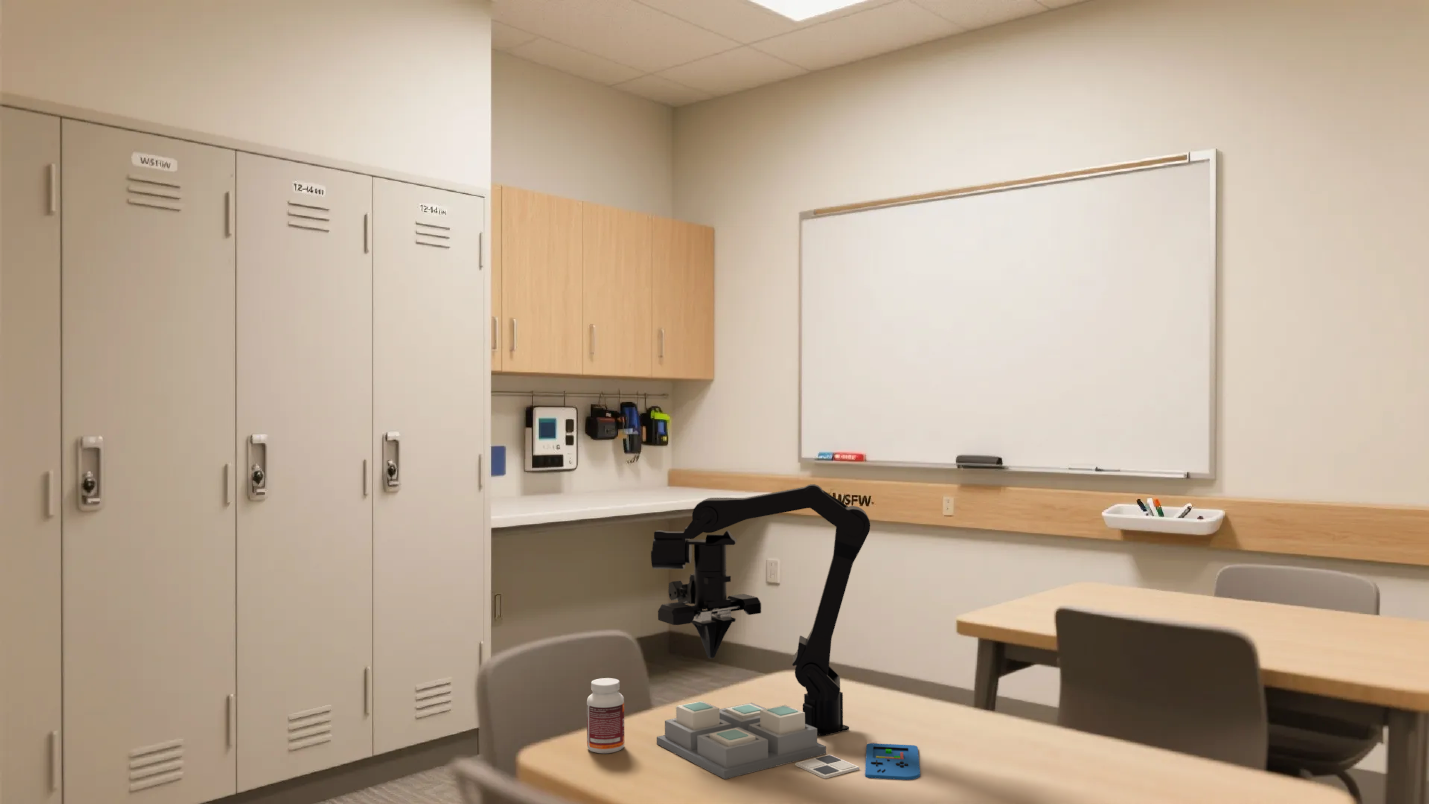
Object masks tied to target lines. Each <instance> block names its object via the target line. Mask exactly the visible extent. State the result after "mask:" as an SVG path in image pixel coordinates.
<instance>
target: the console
mask: <svg viewBox="0 0 1429 804" xmlns="http://www.w3.org/2000/svg"><path fill="white" fill-rule="evenodd" d="M745 704H746V703H744V704H738V705H735V706H730V707H729V706H728V707H724V708H720V724H719V725H714V726H710V727H705V728H700V729H696V730H691V729H689V728H686V727H684V726H682V725H680V724H678V723H676V717H673V718H670V719H664V735H659V736H656V745H658V746H660V747H662V748H664V749H666V750H668V751H669V752H671V753H673V754H675V755H677V756H679V757H681V758H683V759H685V760H686V761H689V762H691V763H693V764H695V765H697V766H698V767H700V768H702V769H704V770H706V771H708V772H710V773H712V774H713V775H716V776H717V777H720V778H722V779H724V780H727V779H730V778H735V777H739V776H743V775H747V774H751V773H754V772H758V771H763V770H767V769H771V768H775V767H778V766H782V765H787V764H791V763H793V762H795V763H796V762H800V761H801V760H803V761H804V760H805V759H806V760H808V759H812V758H816V757H820V756H824V755H827V746H826V745H824V744H823V743H822V744H821V743H819V742H818V735H817V728H815V727H812V726H810V725H807V724H805V729H803V730H799V731H794V732H790V733H785V734H781V735H778V734H776V733H773V732H771V731H769V730H766V729H764V728H761V727H760V716H757V717H752V718H747V719H743V720H742V719H740V718H738V717H735V716H733V715H731V714H728V713H726V708H731V707H736V706H741V705H745ZM747 704H752V705H755V706H757V707H760V708H762V709H767V708H765V707H763V706H760V705H759V704H756V703H753V702H749V703H747ZM734 728H737V729H740V730H742V731H744V732H746V733H749V734H751V735H753V736H755V741H751V742H746V743H742V744H738V745H733V746H729V747H727V746H725V745H723V744H721V743H718V742H716V741H714V740H712V739H710V734H712V733H716V732H721V731H725V730H730V729H734Z"/></svg>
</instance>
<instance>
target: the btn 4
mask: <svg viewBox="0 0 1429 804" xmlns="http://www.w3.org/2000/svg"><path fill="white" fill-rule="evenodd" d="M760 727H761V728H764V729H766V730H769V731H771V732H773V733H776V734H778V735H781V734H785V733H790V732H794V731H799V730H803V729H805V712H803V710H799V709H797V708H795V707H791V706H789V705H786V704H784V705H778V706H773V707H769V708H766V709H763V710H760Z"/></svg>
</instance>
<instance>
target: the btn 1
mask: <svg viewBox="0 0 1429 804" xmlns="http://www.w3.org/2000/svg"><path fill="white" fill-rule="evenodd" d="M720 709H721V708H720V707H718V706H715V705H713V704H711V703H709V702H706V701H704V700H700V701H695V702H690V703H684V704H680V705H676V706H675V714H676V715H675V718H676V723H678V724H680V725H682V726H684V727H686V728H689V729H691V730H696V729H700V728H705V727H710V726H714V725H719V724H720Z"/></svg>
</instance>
